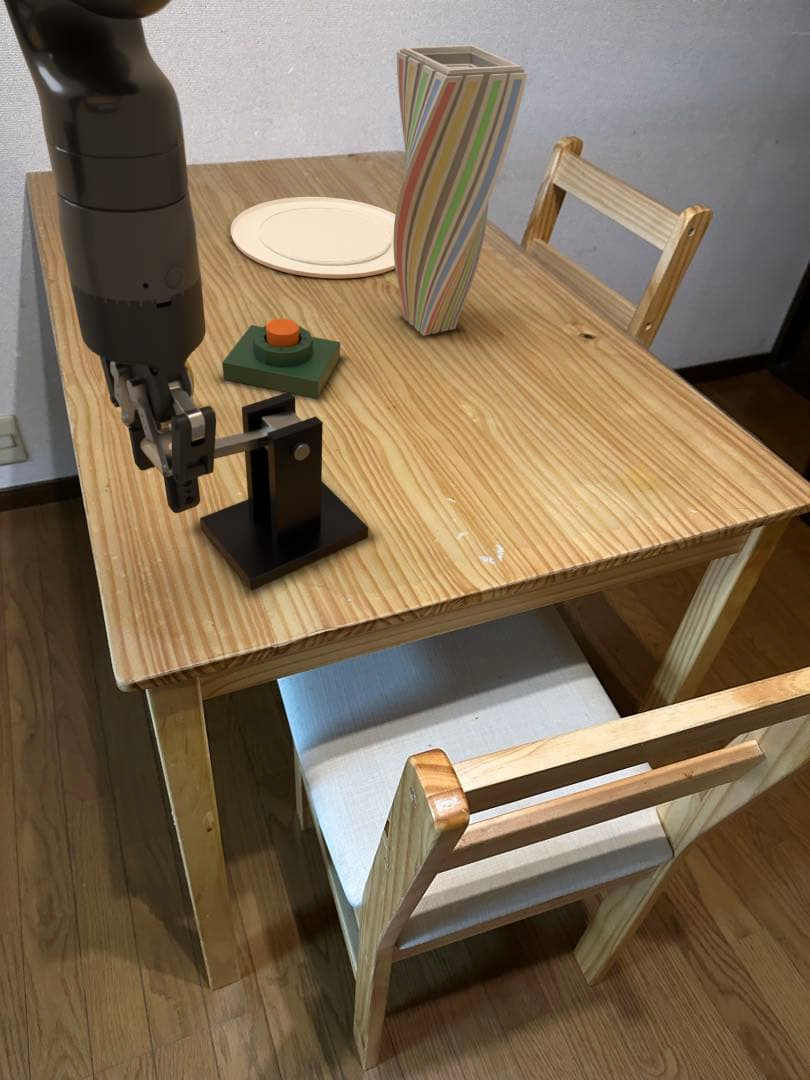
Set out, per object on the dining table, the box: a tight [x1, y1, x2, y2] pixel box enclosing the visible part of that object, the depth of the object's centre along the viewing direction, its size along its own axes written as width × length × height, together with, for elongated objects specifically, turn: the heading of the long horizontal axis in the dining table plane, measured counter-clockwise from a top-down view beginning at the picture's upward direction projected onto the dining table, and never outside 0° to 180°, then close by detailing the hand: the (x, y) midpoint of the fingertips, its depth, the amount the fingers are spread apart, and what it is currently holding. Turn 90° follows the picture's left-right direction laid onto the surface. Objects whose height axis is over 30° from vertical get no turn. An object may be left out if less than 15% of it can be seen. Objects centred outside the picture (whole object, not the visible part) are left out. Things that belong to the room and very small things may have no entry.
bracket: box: [199, 392, 369, 590], centre depth 65 cm, size 12×9×13 cm
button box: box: [221, 324, 341, 399], centre depth 87 cm, size 11×9×4 cm
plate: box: [229, 196, 396, 279], centre depth 115 cm, size 28×28×1 cm
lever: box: [140, 411, 303, 478], centre depth 59 cm, size 12×5×2 cm, turn 128°
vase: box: [393, 44, 528, 336], centre depth 89 cm, size 14×14×30 cm
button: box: [265, 318, 300, 347], centre depth 85 cm, size 4×4×2 cm
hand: (167, 485), depth 57 cm, fingers closed on lever, 5 cm apart
